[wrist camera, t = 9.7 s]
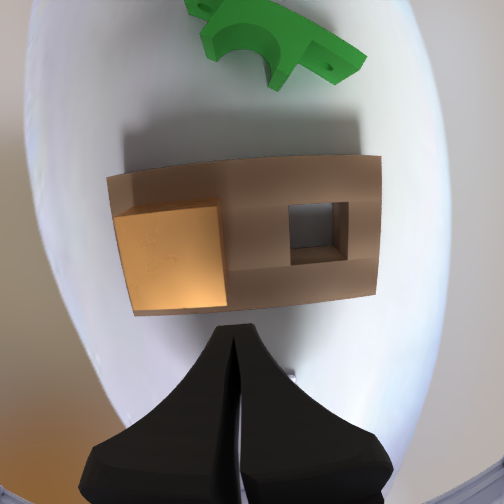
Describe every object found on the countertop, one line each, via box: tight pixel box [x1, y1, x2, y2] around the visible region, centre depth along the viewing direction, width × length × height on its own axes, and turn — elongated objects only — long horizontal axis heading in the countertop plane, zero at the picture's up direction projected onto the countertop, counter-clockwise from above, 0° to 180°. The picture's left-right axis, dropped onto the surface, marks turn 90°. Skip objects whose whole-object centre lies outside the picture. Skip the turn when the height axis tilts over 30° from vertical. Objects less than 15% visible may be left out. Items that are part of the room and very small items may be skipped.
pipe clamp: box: [184, 0, 367, 92], centre depth 14 cm, size 11×4×5 cm, turn 61°
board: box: [107, 155, 382, 316], centre depth 18 cm, size 9×16×3 cm, turn 94°
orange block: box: [114, 197, 228, 310], centre depth 17 cm, size 5×5×6 cm
